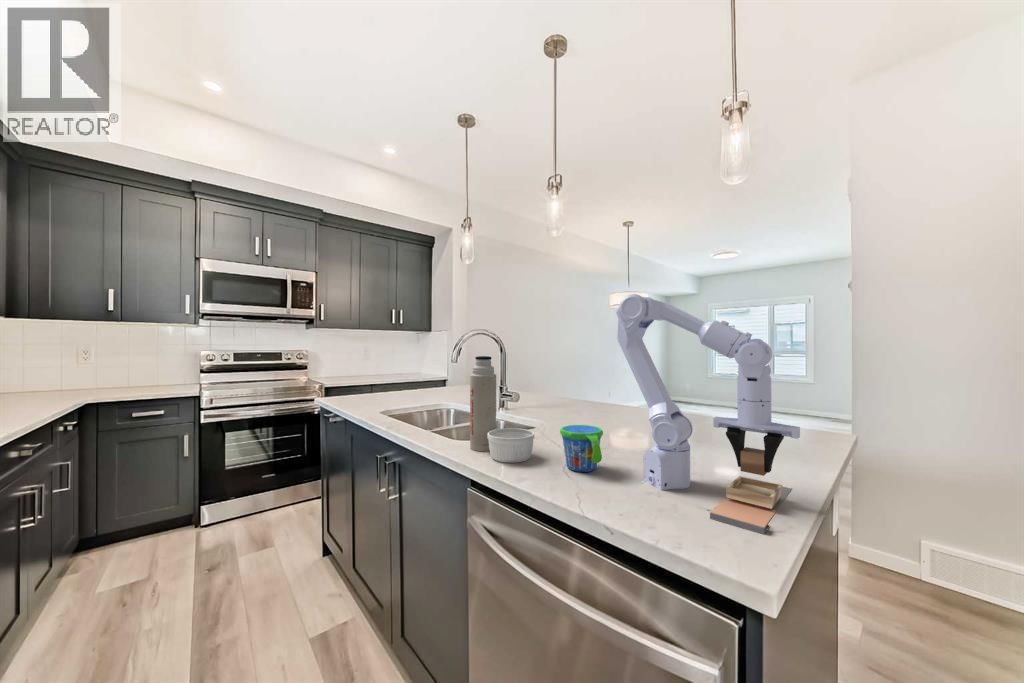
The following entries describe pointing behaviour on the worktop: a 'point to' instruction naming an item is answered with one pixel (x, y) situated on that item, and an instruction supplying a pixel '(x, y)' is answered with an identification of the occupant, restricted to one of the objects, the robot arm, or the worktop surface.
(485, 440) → the thermos bottle
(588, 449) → the snack cup
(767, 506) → the shallow wooden tray
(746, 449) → the block
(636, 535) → the worktop surface
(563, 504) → the worktop surface
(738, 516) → the track
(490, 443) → the ramekin
